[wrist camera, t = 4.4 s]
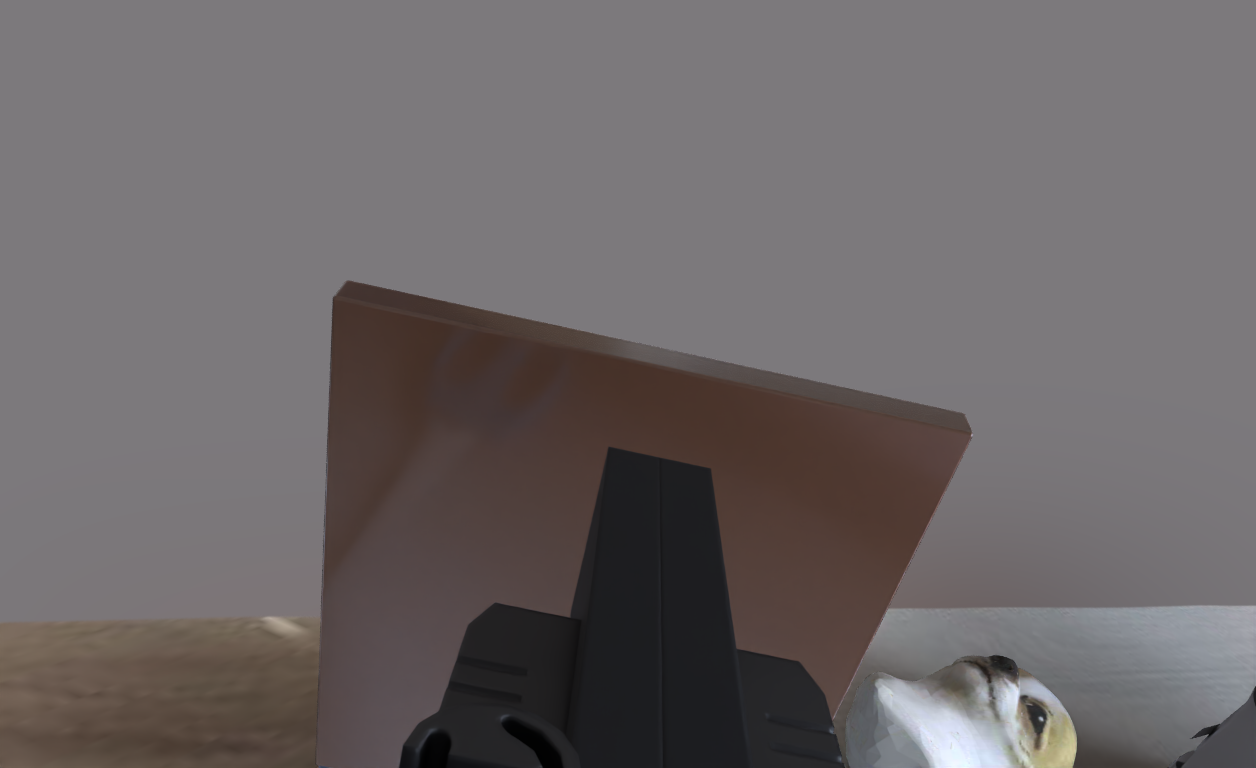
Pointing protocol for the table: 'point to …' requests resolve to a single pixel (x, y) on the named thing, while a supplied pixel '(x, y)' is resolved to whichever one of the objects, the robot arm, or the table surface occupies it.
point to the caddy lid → (586, 496)
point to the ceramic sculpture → (960, 720)
